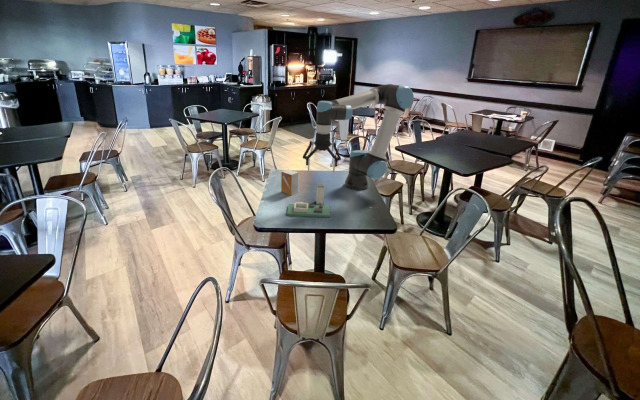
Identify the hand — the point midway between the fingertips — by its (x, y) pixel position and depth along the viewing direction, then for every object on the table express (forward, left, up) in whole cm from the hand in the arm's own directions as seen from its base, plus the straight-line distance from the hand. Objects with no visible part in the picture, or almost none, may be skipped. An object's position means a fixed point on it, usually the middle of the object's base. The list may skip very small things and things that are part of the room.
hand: (321, 171), depth 173 cm
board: (+6, +12, -18) cm, 23 cm away
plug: (0, 0, -18) cm, 18 cm away
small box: (+18, -13, -18) cm, 29 cm away
